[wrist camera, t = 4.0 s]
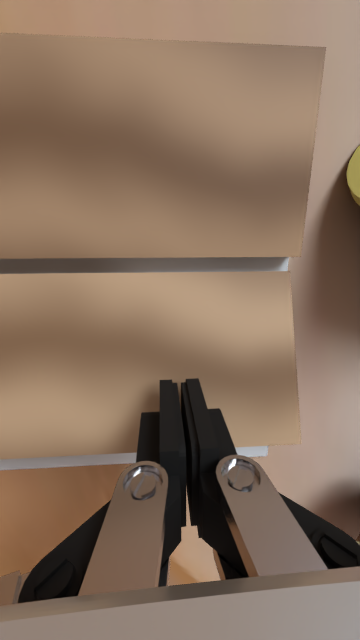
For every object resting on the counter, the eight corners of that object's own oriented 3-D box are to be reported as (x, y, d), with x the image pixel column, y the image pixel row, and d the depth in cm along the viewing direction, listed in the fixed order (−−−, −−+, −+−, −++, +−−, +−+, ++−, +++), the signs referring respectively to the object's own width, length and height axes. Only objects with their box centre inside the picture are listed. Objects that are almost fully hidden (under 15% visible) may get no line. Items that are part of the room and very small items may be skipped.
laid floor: (266, 453, 17) (274, 471, 16) (-32, 469, 16) (-51, 490, 14) (307, 65, 11) (326, 40, 10) (-153, 47, 10) (-202, 16, 9)
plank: (288, 434, 13) (301, 443, 11) (-94, 453, 12) (-124, 466, 10) (278, 277, 13) (289, 271, 12) (-83, 281, 12) (-109, 275, 11)
